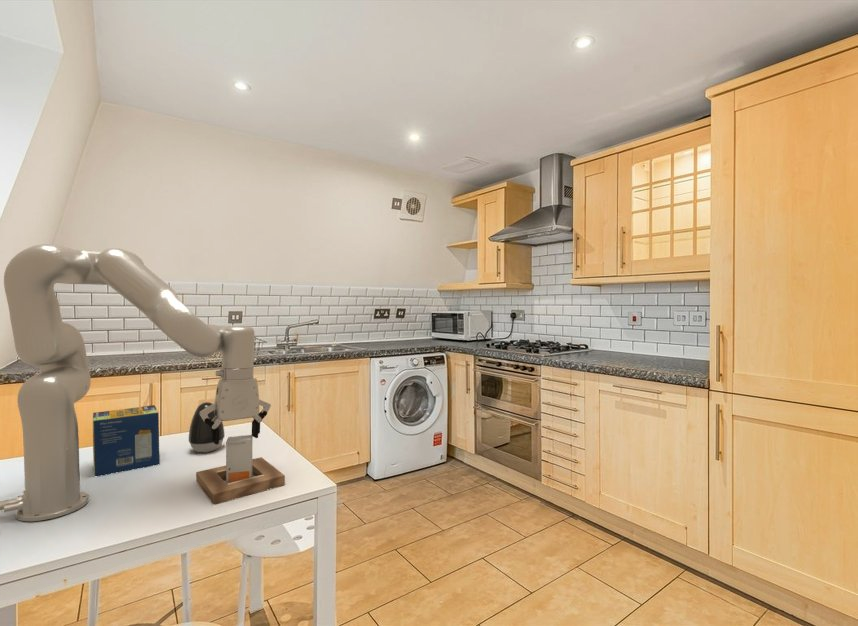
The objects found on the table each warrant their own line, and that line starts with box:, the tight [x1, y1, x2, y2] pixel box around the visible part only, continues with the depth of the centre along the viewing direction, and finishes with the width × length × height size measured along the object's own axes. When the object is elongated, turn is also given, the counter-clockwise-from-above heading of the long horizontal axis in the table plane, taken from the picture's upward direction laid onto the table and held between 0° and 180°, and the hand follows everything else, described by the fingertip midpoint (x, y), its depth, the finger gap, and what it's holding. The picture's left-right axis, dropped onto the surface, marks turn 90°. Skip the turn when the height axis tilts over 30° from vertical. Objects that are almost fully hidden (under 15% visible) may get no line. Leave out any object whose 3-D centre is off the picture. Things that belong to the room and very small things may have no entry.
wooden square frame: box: [195, 456, 286, 505], centre depth 115 cm, size 17×17×3 cm
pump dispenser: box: [188, 401, 225, 454], centre depth 140 cm, size 10×10×15 cm
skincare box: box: [225, 434, 254, 484], centre depth 114 cm, size 6×4×12 cm
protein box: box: [92, 404, 161, 477], centre depth 127 cm, size 10×15×16 cm
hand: (235, 439), depth 114 cm, fingers open, 9 cm apart
